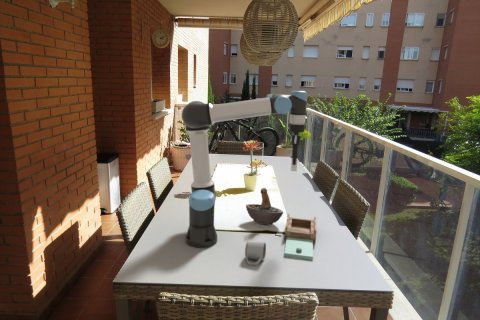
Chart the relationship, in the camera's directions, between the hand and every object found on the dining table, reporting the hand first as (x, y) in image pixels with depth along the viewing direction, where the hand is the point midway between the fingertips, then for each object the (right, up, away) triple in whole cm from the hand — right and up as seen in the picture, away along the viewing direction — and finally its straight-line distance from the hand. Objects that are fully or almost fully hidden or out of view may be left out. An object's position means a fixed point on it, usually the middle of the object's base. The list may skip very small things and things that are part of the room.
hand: (293, 170), depth 173 cm
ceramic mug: (-20, -38, -23) cm, 49 cm away
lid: (+1, -36, -12) cm, 38 cm away
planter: (-14, -29, +16) cm, 36 cm away
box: (+4, -32, +4) cm, 33 cm away
